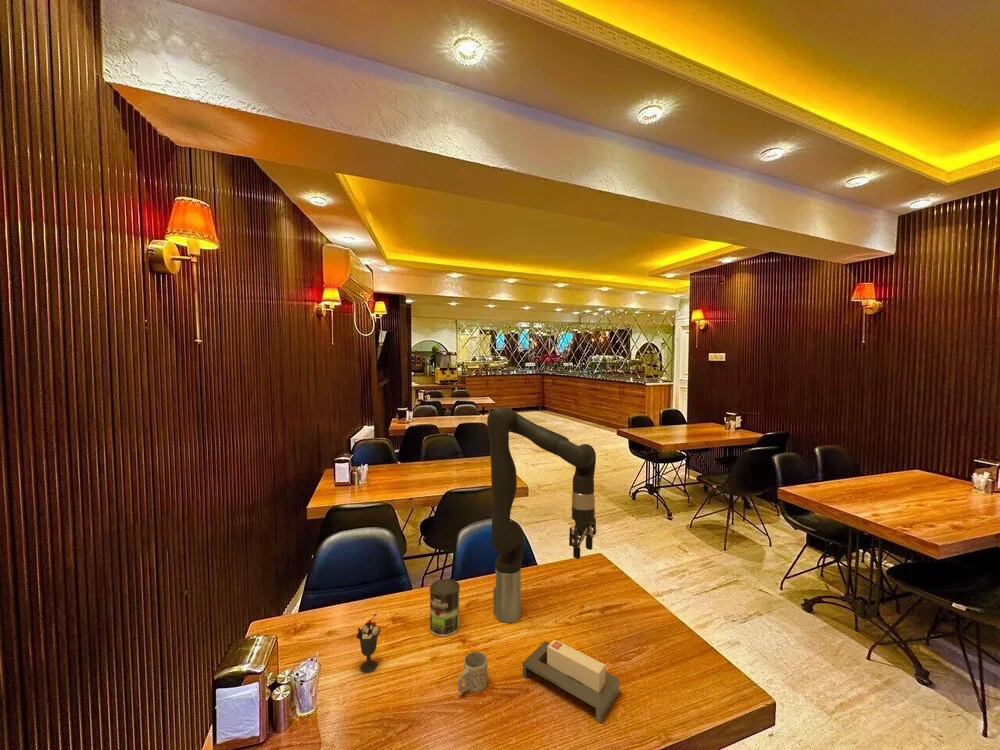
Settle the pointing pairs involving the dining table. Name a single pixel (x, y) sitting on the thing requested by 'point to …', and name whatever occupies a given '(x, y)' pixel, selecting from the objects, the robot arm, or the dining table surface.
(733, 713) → the dining table surface
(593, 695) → the slotted board
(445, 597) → the coffee can
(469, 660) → the mug
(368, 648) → the sundae
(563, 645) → the cream rectangular block
